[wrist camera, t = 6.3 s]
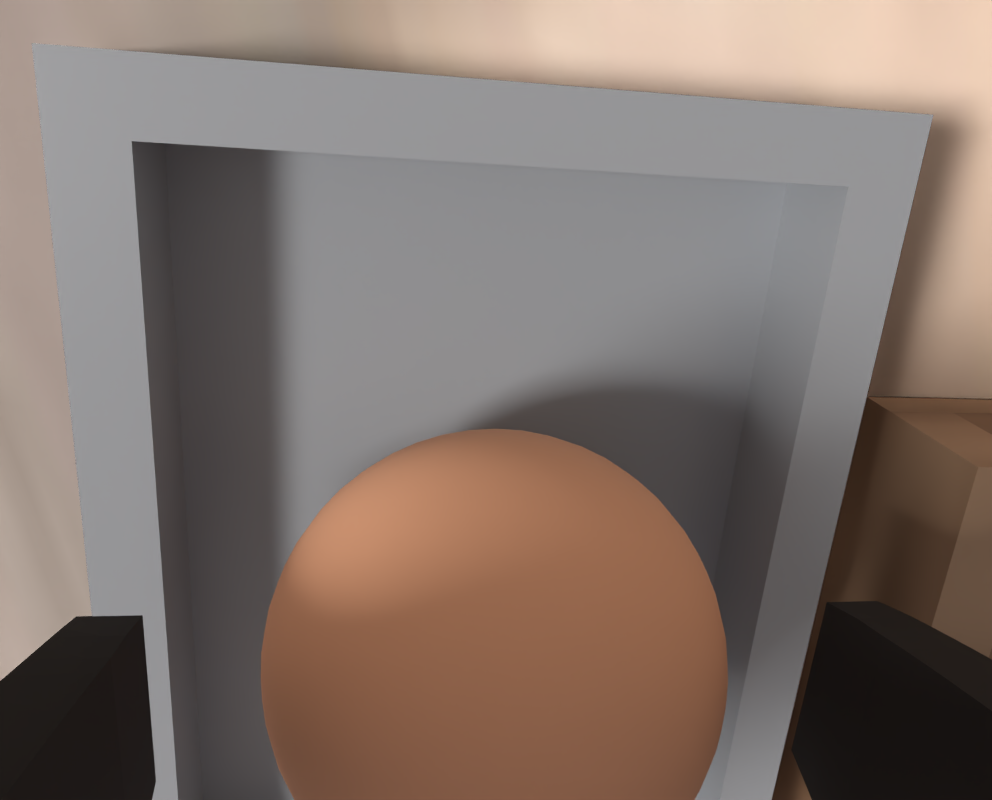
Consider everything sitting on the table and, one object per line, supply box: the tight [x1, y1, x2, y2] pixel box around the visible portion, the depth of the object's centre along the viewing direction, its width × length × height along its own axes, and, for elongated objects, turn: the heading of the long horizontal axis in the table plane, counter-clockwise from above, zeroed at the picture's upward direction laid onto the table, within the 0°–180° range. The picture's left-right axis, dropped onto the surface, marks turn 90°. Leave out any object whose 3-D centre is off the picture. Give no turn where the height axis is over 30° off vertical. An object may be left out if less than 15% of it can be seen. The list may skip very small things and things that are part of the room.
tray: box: [32, 43, 933, 800], centre depth 11 cm, size 12×9×2 cm
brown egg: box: [261, 429, 728, 800], centre depth 9 cm, size 5×5×5 cm
